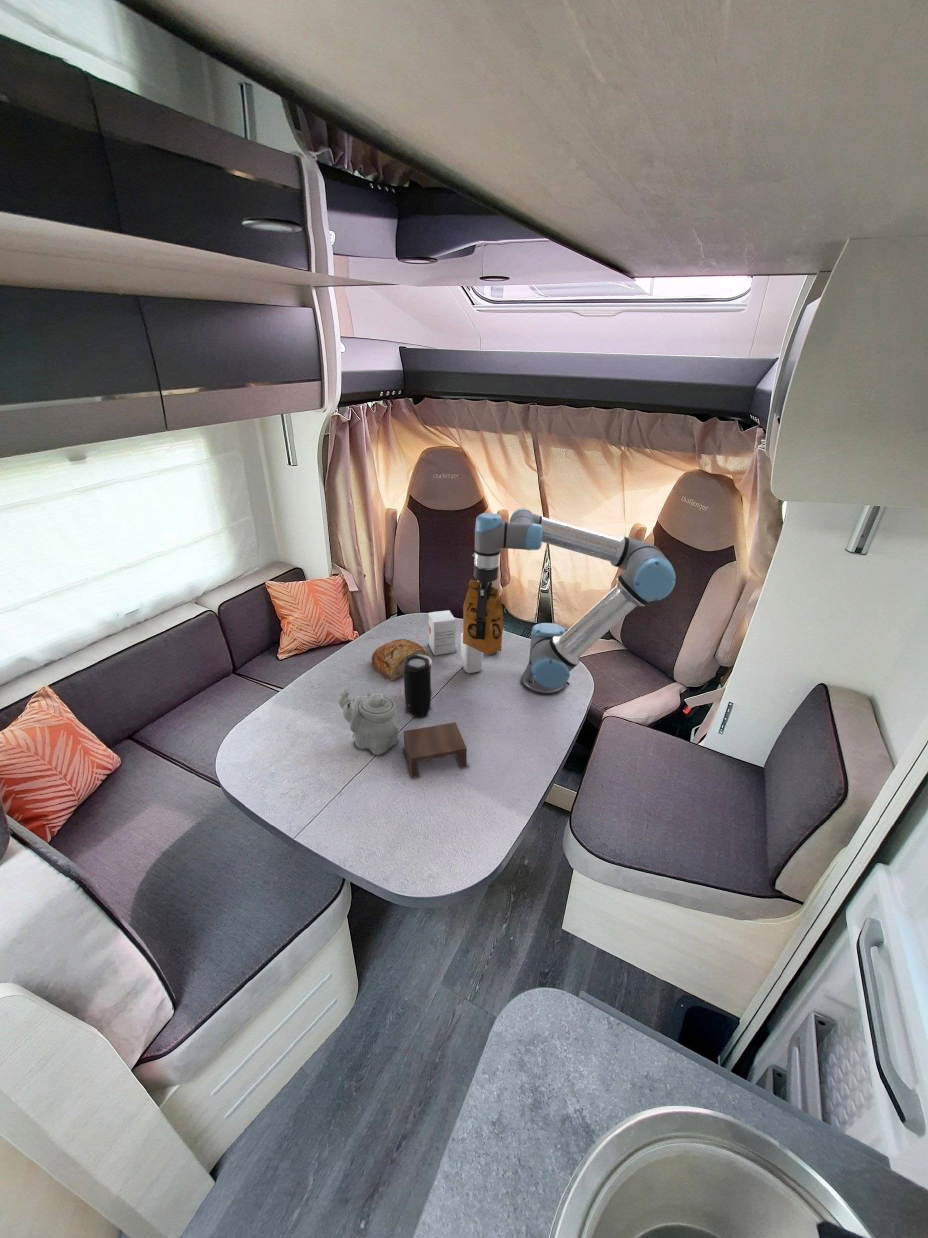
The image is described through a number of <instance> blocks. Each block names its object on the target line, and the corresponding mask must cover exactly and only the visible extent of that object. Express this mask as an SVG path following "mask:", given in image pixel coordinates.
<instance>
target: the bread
mask: <svg viewBox="0 0 928 1238" xmlns="http://www.w3.org/2000/svg"><path fill="white" fill-rule="evenodd" d="M412 655H425V656H428V657H429V653H428V652H426V650H425V649H424V647H423V646H422V645H420V644H419V643H417V642H415V641H412V640H409V639H405V638H401V639H400V638H399V639H394V640H391V641H389V642H386V643H384V644H381V645H379V646H378V647H377V648H376V649H375V650H374V651H373V653H372V655H371V663H372V666H373V668H374V669H375V671H376V672H378V673H379V674H380V675H382V676H383V677H385V678H387V679H388V680H390V681H395V680H397V679H399V678H401V677H404V664H405V661H406V659H407V657H409V656H412Z"/></svg>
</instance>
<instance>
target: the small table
mask: <svg viewBox="0 0 928 1238" xmlns="http://www.w3.org/2000/svg"><path fill="white" fill-rule="evenodd" d="M402 735H403V750H404V752H405V758H406V761H407V764H408V770H409V773H410V777H411V778H416V777H418V762H422V761H427V760H432V759H439V758H444V757H449V756H454V755H455V756H456V759H457V761H458V763H459V766H460V768H461V769H463V768H467V761H468V760H467V757H468V755H467V753H468V747H467V746H466V743H465V740H464V738H463V735H462V734H461V731H460V729H459V727H458V724H457V722H456V721H454V722H448V723H441V724H436V725H431V726H425V727H420V728H413V729H409V730H403V734H402Z"/></svg>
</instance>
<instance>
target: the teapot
mask: <svg viewBox="0 0 928 1238" xmlns="http://www.w3.org/2000/svg"><path fill="white" fill-rule="evenodd" d="M350 694H351V691H350V690H349V689H347V688H345V689H344V690H343V692H342V693H341V696H340V697H339V700H338V705H339V707H340V708H341V710H342V716H343V718H344V719H345V721H346V722H348V723H349V729H350V731H351V732H352V736H353V737H354V740H355V746H356V747H357V749H360V750H369V751H370V752H371V754H373V755H375V756H380V755H384V754H385V753H386V752H387V751H388V750H390V749H391V748H392V747H393V746H395V745H396V744H397V743H398V733H399V727H398V726H399V725H398V724H399V718H398V715H397V712H396V711H397V704H396V702H395V700H394V699H393V698H391V697H389V696H386V695H383V694H381V693H378V692H375V693H373V694H372V693H370V692H367V693H366V696H365V695H358V696H356V697H354V698H352V699H350V698H349V695H350Z"/></svg>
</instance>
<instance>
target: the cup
mask: <svg viewBox="0 0 928 1238" xmlns="http://www.w3.org/2000/svg"><path fill="white" fill-rule="evenodd" d="M460 654H461V655H460V656H461V663H462V668H463V670H464V671H465V673H467V674H474V673H477V672H480V671H481V669H482V664H483V659H484V653H483V652H481V651H478V650H476V649H475V648H473V647H470V646H469V645H466V644H463V631H462V632H461V633H460Z"/></svg>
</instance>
